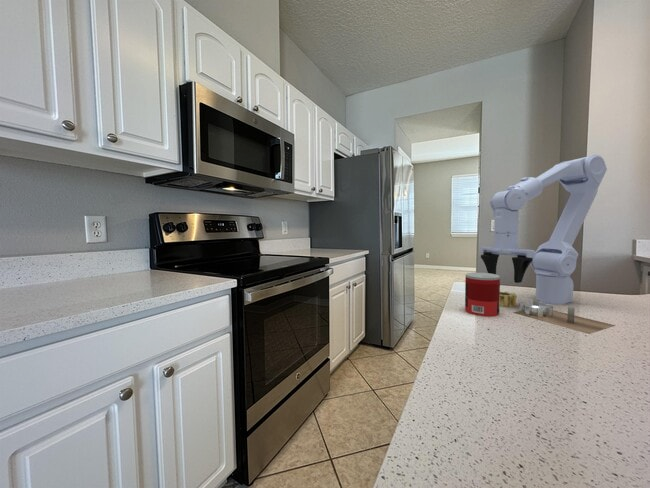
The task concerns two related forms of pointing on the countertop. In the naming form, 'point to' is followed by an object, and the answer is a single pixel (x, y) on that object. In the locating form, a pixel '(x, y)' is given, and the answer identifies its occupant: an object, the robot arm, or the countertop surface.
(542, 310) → the gear
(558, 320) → the gear board
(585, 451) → the countertop surface
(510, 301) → the brass gear
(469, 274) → the canned food
